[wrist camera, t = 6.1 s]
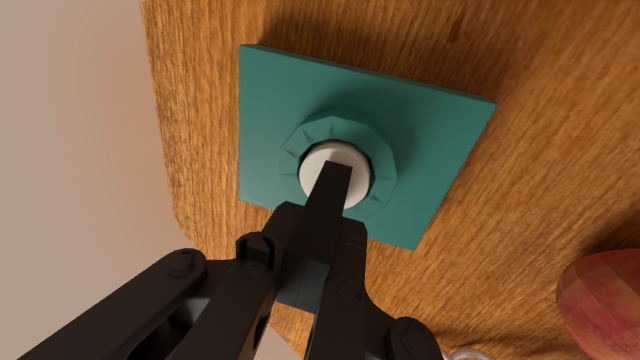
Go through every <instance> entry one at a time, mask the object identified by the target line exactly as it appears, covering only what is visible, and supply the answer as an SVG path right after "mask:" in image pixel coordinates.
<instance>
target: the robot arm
mask: <svg viewBox="0 0 640 360" xmlns="http://www.w3.org/2000/svg"><path fill="white" fill-rule="evenodd" d="M352 169H353V167H351V166H347V165H343V164H339V163H336V162H332V161H328V160H325V163H324V165H323V167H322V169H321V171H320V173H319V175H318V178H317V180H316V182H315V184H314V186H313V188H312V190H311V193H310V195H309V197H308V199H307V201H306V203H305V206H303V205H299V204H296V203H293V202H289V201H284V202H283V203H281V204H280V205H278V206H277V207H276V209H275V210H274V212H273V214H272V216H271V217H270V218H269V220H268V222H267V223H266V225H265V226H264V228H263V229H262V231H261V232H258V231H257V232H250V233H247V234H245V235H243V236H241V237H240V238H239V239H238V240H237V241H236V258H234V259H230V260H206V257H205V255H204V254H203V253H202V252H201V251H199V250H196V249H191V248H184V249H180V250H175V251H173V252H171V253H169V254H168V255H166V256H164V257H163V258H161V259H160V260H158V261H157V262H156V263H154V264H153V265H151V266H150V267H148V268H147V269H146V270H144V271H143V272H141V273H140V274H138V275H137V276H135V277H134V278H133V279H131V280H130V281H128V282H127V283H126V284H124V285H123V286H121V287H120V288H118V289H117V290H115V291H114V292H113V293H111V294H110V295H108V296H107V297H106V298H104V299H103V300H101V301H100V302H99V303H97V304H95V305H94V306H93V307H91V308H90V309H88V310H87V311H85V312H84V313H83V314H81V315H80V316H78V317H77V318H76V319H74V320H73V321H71V322H70V323H68V324H67V325H65V326H64V327H62V328H61V329H60V330H58V331H57V332H55V333H54V334H53V335H51V336H50V337H48V338H47V339H45V340H44V341H42V342H41V343H40V344H38V345H37V346H35V347H34V348H33V349H31V350H30V351H28V352H27V353H25V354H24V355H22V356H21V357H20V358H18V359H17V360H253V359H254V357H255V354H256V352H257V349H258V347H259V344H260V341H261V339H262V336H263V334H264V332H265V329H266V327H267V324H268V322H269V319H270V315H271V310H272V306H273V304H274V302H275V299H276V302H279V303H282V304H285V305H288V306H291V307H294V308H297V309H300V310H303V311H306V312H309V313H312V314H315V317H314V321H313V325H312V328H311V331H310V334H309V337H308V340H307V347H306V351H305V355H304V359H303V360H444V358H443V355H442V352H441V350H440V347H439V345H438V343H437V341H436V339H435V337H434V335H433V333H432V332H431V331H430V330H429V329H428V328H427V327H426V326H425V325H424V324H423V323H421V322H420V321H418V320H417V319H414V318H411V317H407V316H406V317H399V318H398V319H394V318H393V317H391V316H390V315H388V314H387V313H385V312H384V311H382V310H381V309H380V308H378V307H377V306H376V305H375V304H374V303H373V302H372V301H371V299H370V298H369V296H368V294H367V292H366V289H365V282H364V281H365V266H366V250H367V236H368V231H367V229H366V227H365V224H364V222H361V221H357V220H354V219H350V218H347V217H344V216H342V215H343V210H344V206H345V201H346V197H347V192H348V188H349V183H350V179H351V174H352Z"/></svg>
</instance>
